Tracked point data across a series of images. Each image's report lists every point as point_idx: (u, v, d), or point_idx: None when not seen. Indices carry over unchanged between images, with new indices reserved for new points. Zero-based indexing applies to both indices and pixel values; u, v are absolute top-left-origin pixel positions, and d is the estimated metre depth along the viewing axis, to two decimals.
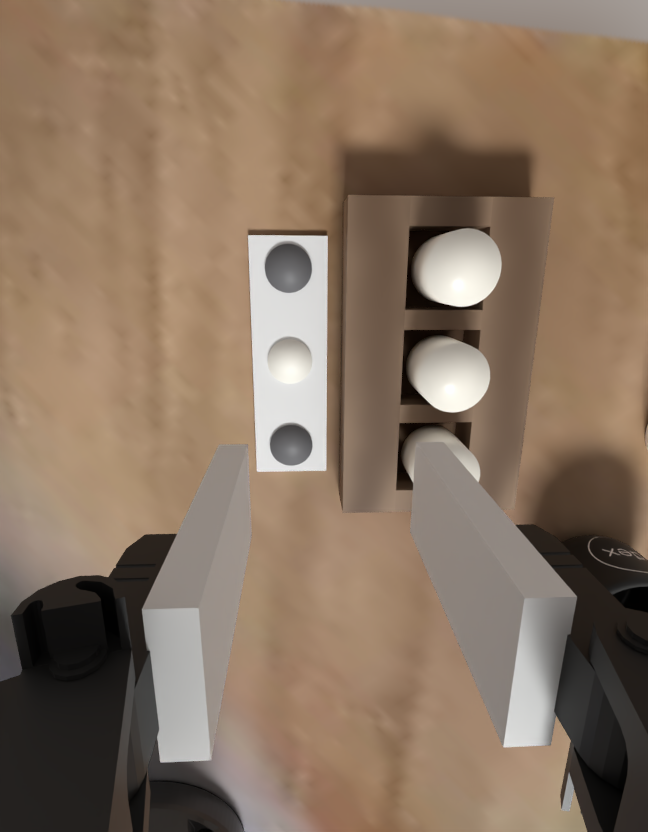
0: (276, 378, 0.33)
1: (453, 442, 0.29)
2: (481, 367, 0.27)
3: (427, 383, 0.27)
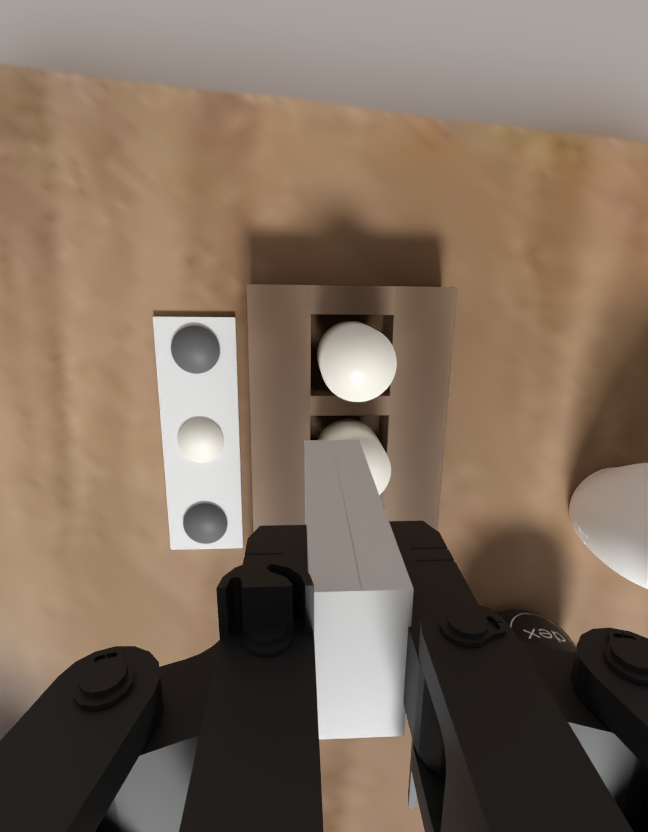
0: (187, 457, 0.32)
1: None
2: (381, 461, 0.27)
3: None
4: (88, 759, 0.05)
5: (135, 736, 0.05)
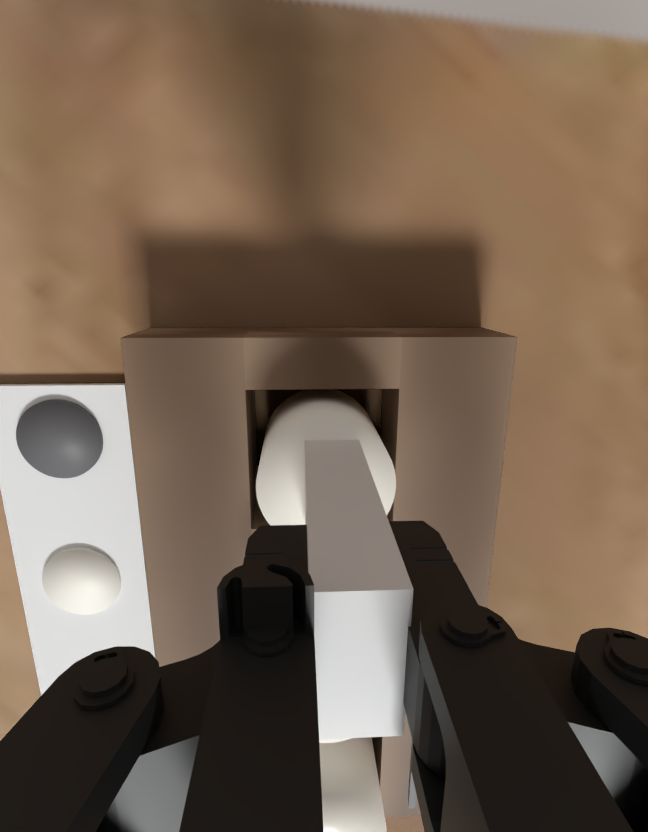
0: (61, 607, 0.20)
1: (337, 775, 0.16)
2: None
3: None
4: (89, 759, 0.05)
5: (136, 736, 0.05)
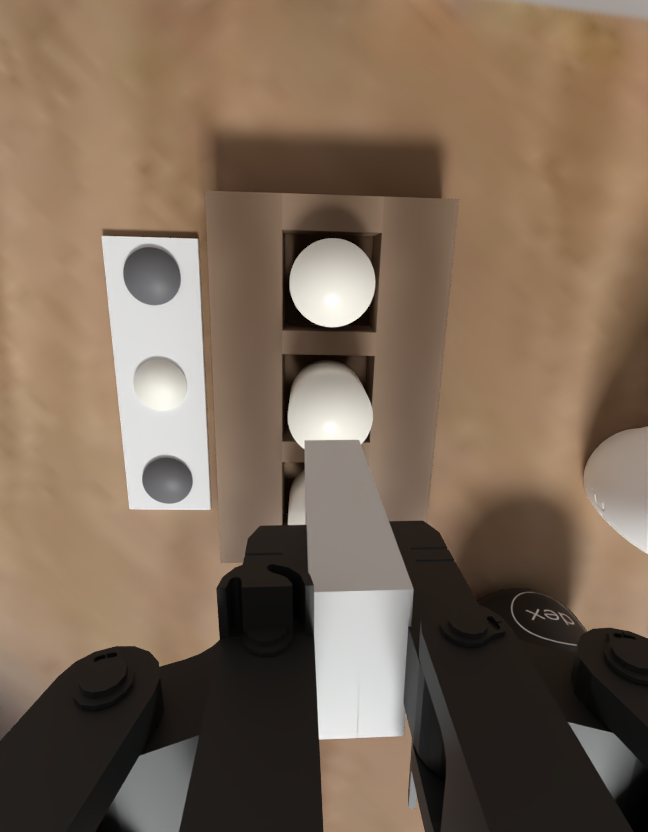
0: (145, 404, 0.28)
1: None
2: (361, 405, 0.22)
3: (296, 422, 0.23)
4: (88, 759, 0.05)
5: (135, 736, 0.05)
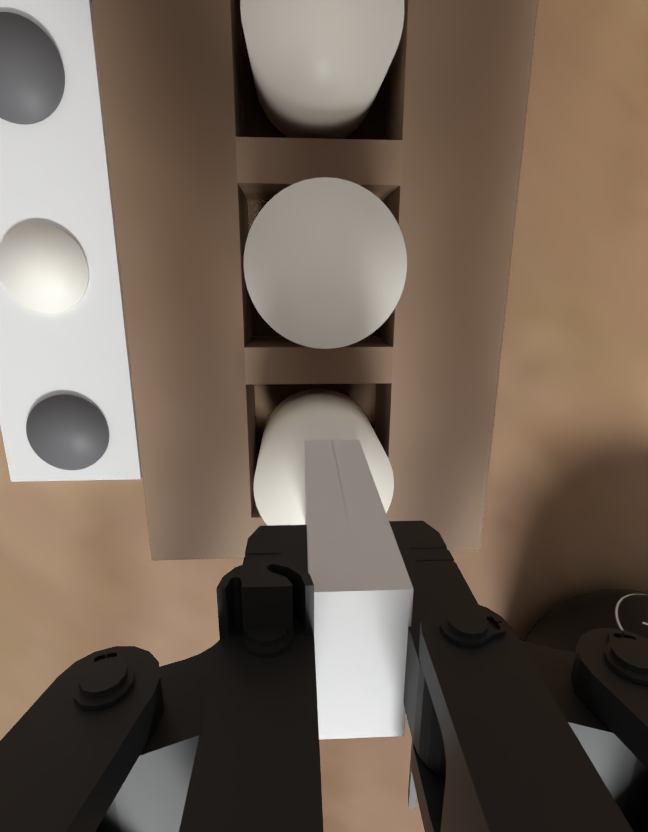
0: (21, 302, 0.17)
1: (336, 416, 0.14)
2: (385, 239, 0.12)
3: (260, 278, 0.12)
4: (88, 759, 0.05)
5: (135, 736, 0.05)
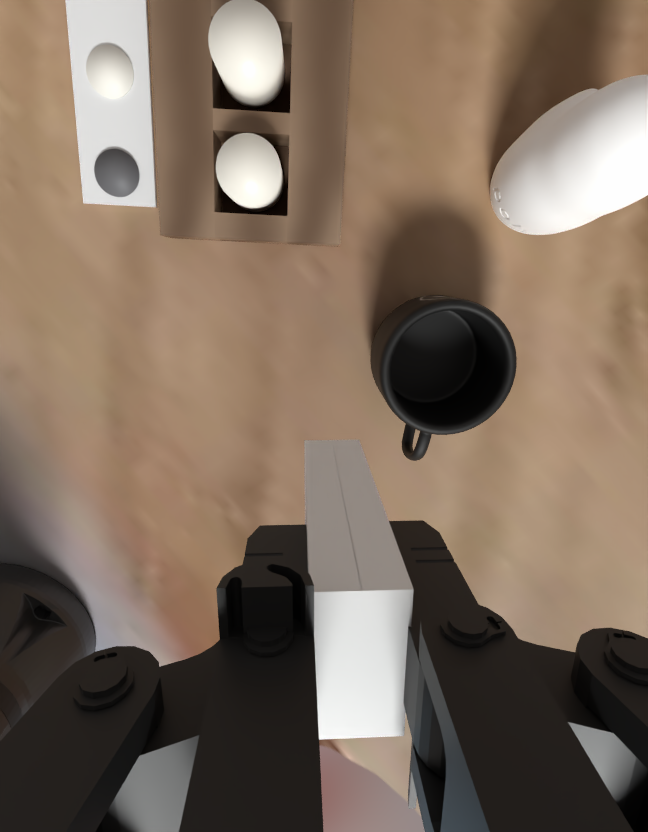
0: (96, 91, 0.32)
1: None
2: (271, 30, 0.26)
3: (215, 46, 0.26)
4: (88, 759, 0.05)
5: (135, 736, 0.05)
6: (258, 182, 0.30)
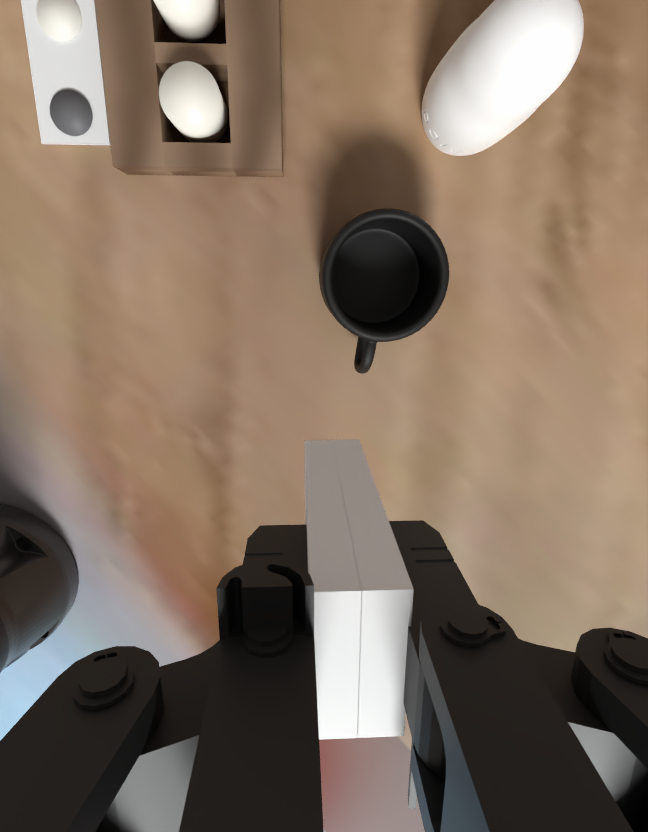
0: (47, 34, 0.34)
1: None
2: None
3: None
4: (88, 759, 0.05)
5: (135, 736, 0.05)
6: (199, 108, 0.32)
